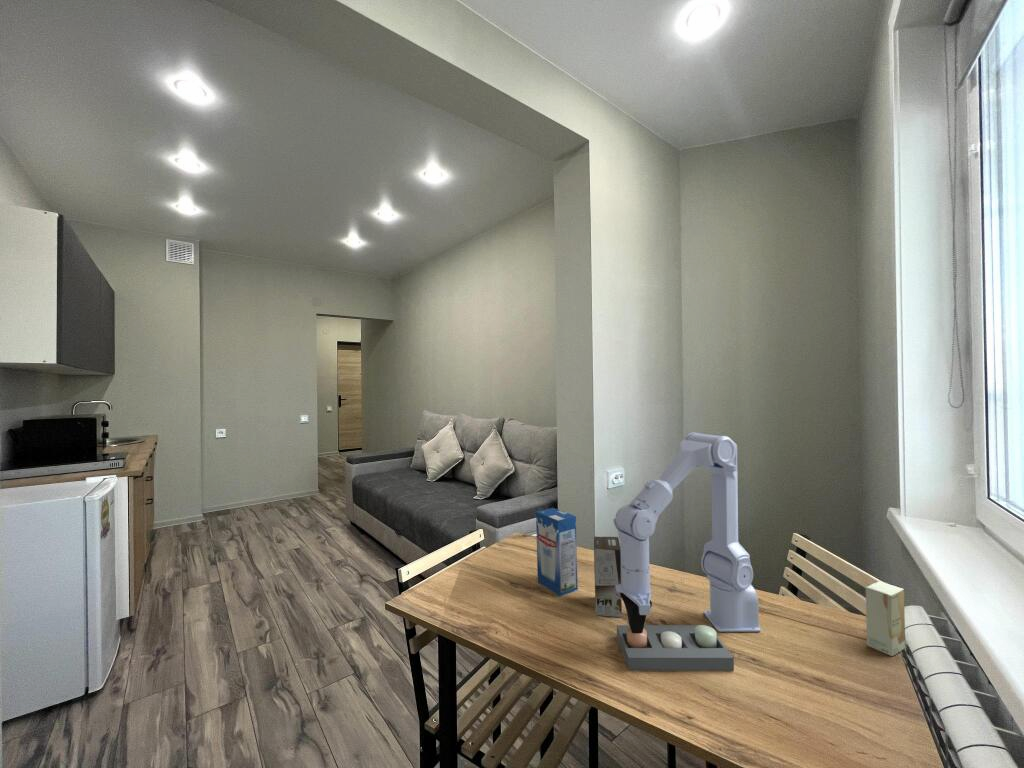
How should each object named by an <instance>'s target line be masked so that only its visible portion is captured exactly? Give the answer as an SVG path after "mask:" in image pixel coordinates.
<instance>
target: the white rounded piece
mask: <svg viewBox="0 0 1024 768" xmlns="http://www.w3.org/2000/svg"><path fill="white" fill-rule="evenodd" d="M661 645H662V647H663V648H682V638H681V636H680V635H678V634H677V633H674V632H670V631H666V632H663V633H661Z"/></svg>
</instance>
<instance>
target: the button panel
mask: <svg viewBox="0 0 1024 768" xmlns="http://www.w3.org/2000/svg"><path fill="white" fill-rule="evenodd" d="M698 625H699V624H692V625H691V624H680V625H679V624H678V625H677V624H674V625H673V624H670V625H669V624H668V625H667V624H664V625H663V624H661V625H660V624H654V625H653V624H650V625H649V624H644V629H645V630H646V631H647V648H628V646H627V628H628V627H629V626H630V625H629V624H624V625H623V624H620V625H619V624H618V625H617V624H616V637H617V641H618V643H619V646H620V649H621V650H620V651H621V653H622V655H623V658H624V660H625V663H626V666H627V670H628V671H639V672H641V671H642V672H643V671H645V672H646V671H647V672H648V671H651V672H652V671H655V672H656V671H659V672H661V671H664V672H665V671H673V672H674V671H675V672H677V671H679V672H680V671H681V672H683V671H685V672H686V671H687V672H690V671H691V672H701V671H703V672H725V671H726V672H730V671H731V672H734V671H735V658H734V656H733V655H732V654H731V652H730V650H729V649H727V647H726V646H725V645H724V642H722V640H721V639H720V638H719V636H718V635H717V634H716V641H717V648H698V647H697V645H696V644H695V627H696V626H698ZM704 625H705V626H709V627H711V626H710V624H704ZM666 631H670V632H674V633H677V634H678V635H680V636H681V638H682V648H663V647H662V645H661V633H663V632H666Z"/></svg>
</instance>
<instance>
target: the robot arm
mask: <svg viewBox="0 0 1024 768" xmlns="http://www.w3.org/2000/svg"><path fill="white" fill-rule="evenodd" d="M700 467H701V468H702V467H703V468H706V470H707V471H708V472H709V473H711V475H710V476H711V540H709V541H707V542H706V543H705V544H704V545H703V553H702V555H701V560H700V564H701V565H700V567H701V569H702V571H703V573H704V574H706V579H707V580H708V581H709V610H703V615H705V617H706V618H707V620H708V621H709V622H710V623H711V625H712V626H713V627H714V628H715V631H716V632H717V631H718V632H719V633H721V632H723V633H724V632H725V633H726V632H730V633H731V632H733V633H735V632H745V633H746V632H747V633H749V632H759V633H760V632H761V629H762V628H760V622H759V621H760V619H759V599H758V594H757V592H756V589H755V588H754V586H753V585H752V582H753V579H754V570H753V567H752V564H751V559H750V558H751V555H750V554H749V553H748V551H746V550H745V548H744V547H743V546H742V545H741V544H740V542H739V508H738V507H739V501H738V500H739V496H738V491H739V490H738V489H739V488H738V487H739V486H738V479H739V477H738V444H736V442H735V441H733V440H732V439H731V437H729V436H726V435H715V434H714V435H713V434H704V433H699V432H695V431H694V432H690V433H688V434H687V435H686V436H684V438H683V440H682V441H681V442H680V443H679V451H678V453H677V454H676V455H675V457H674V458H673V459H672V461H671V462H670V464H669V465H668V467H667V468H665V470H664V472H663V473H662V474H661V476H660V477H659V478H658V479H650V480H649V481H647V482H646V483H645V484H644V487H643V488H642V490H640V492H639V493H638V494H637V495H636V496H635V497H634V498H633V499H632V500H631V502H630V503H629V504H626V505H623V506H621V507H620V508H619V509H618V510H617V511H616V514H615V518H613V519H612V520H613V525H614V527H615V529H616V530H617V532H618V538H619V544H620V551H621V584H620V585H615V589H616V591H617V592H621V593H620V595H621V598H622V601H623V604H624V606H625V609H626V614H627V620H628V625H630V629H631V631H632V633H642V632H643V628H644V625H646V624H645V623H646V618H647V616H651V615H652V614H651V613H652V612H651V611H652V610H651V609H652V607H653V602H652V601H651V597H652V596H651V594H652V588H651V582H650V580H651V579H650V576H651V575H650V570H651V569H650V539H649V538H650V537H651V536H652V535H653V534H654V533H655V530H656V524H657V522H658V519H659V516H660V515H661V513H662V512H663V511H665V508H667V507H668V505H669V504H670V503H671V502H672V500H673V498H674V494H673V493H674V492H673V491H674V489H675V488H676V487H677V486H678V485H679V484H680V483H681V482H682V481H683V480H684V479H685V478H686V477H687V476H689V474H690V473H692V471H693V470H695V469H696V468H700Z"/></svg>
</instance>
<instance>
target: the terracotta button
mask: <svg viewBox="0 0 1024 768" xmlns="http://www.w3.org/2000/svg"><path fill="white" fill-rule="evenodd" d="M627 648H647V631H646V630H645V629H644V628H643V632H642V633H632V631H631V629H630V626H629V627H628V628H627Z"/></svg>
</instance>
